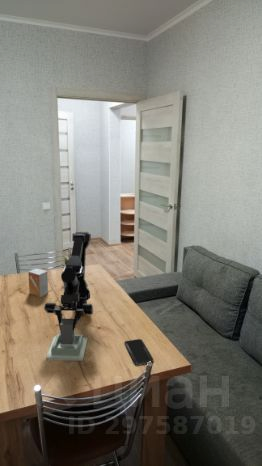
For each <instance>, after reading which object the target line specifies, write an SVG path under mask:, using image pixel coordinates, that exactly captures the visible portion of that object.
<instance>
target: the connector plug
mask: <svg viewBox="0 0 262 466" xmlns="http://www.w3.org/2000/svg"><path fill="white" fill-rule="evenodd" d="M73 322H74V318H63V317H62V321H61V324H60V328H59V331H60V332H59V334H60V338H61V344H60V348H73V345H74V342H75V337H74V334H75V329H74V330H73Z"/></svg>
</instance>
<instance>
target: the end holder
mask: <svg viewBox="0 0 262 466" xmlns="http://www.w3.org/2000/svg"><path fill="white" fill-rule="evenodd" d="M74 337H75V342H74V345H73V348H60V344H61V338H60V333H57V334H56V336H53V338H52V342H51V344H50V347H49V349H48V350H47V351H48V352H47V354H46V356H45V361H67V362H68V361H70V362H71V361H73V362H75V361H76V362H83V361H84V357H85V353H86V348H87V345H88V344H87V343H88V337H84V334H75V333H74Z"/></svg>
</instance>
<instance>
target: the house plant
mask: <svg viewBox="0 0 262 466" xmlns="http://www.w3.org/2000/svg"><path fill="white" fill-rule="evenodd" d="M71 254H72V253H69V255H67V257H68V259H67V257H65V256H64V255H62V257H63V259H64V260H62V259H59V260H61V261H63V262H64V264H65V265H64V264H62V266H61V269H64V267H65V266H66V264H67V260H69V259H70V258H71Z"/></svg>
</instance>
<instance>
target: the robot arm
mask: <svg viewBox="0 0 262 466" xmlns="http://www.w3.org/2000/svg"><path fill="white" fill-rule="evenodd" d="M71 241H72V242H73V244H72V250H71V253H70V254H71V258H70V259H69V258H68V259H67V264H65V267H64V266H63V267H64V268H62V269H63V270H62V273H61V275H60V278H61V281H62V283H63V285H64V289H63V290H64V291H63V293H62V294H61V295H60V304H61V305H57V303H56V302H46V303H45V304H44V306H43V307H44V311H45V312H46V313H47V314H54V316H56V318H57V321H58V326H59V329H60V324H61V321H62V319H63V317H64V316H63V311H67V312H68V311H69V312H70V311H71V312H74V318H73V319H74V322H73V330H74V331H75V328H76V326H77V324H78V322H79V321H80V319H81V317H84V316H85V315H93V314H94V306H93V304H92V303H88V301H89V299H91V292H90V289H89V287H88V285H89V284H88V283H87V280H86V277H85V275H86V259H87V258H86V254H87V253H86V252H87V249H88V247H89V246H90V242H91V241H92V234H91V233H89V231H82V230H81V231H78V230H77V231H75V232H74V233H72V240H71Z"/></svg>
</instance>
